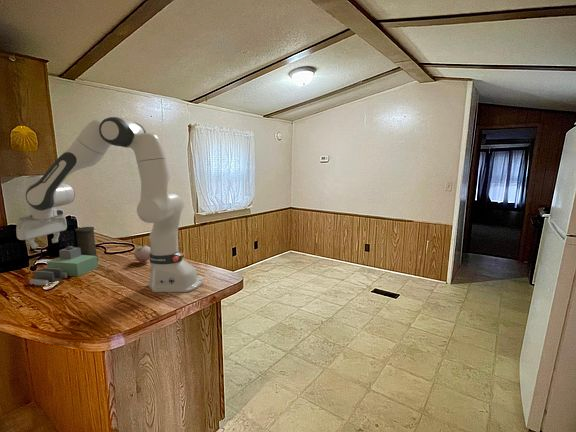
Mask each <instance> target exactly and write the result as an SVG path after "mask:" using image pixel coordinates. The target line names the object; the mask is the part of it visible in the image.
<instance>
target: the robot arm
mask: <svg viewBox="0 0 576 432" xmlns="http://www.w3.org/2000/svg"><path fill="white" fill-rule="evenodd" d="M111 146H115V147H122V148H127V149H131V150H132V151H133V153H134V156H135V160H136V165H137V169H138V170H137V171H138V174H139V179H140V199H139V202H138V204H137V207H136V213H137V216H138V218H139V219H140V220H141V221H142V222H144V223H147V224H153V226H152V229H151V231H150V233H149V247H150V251H151V253H150V258H149V263H150V275H149V276H150V277H149V281H148V287H149V289H150V290H151V292H153V293H189V292H193V291H194V290H196V289H197V288H199V287H200V286H201V285H203V282H204V280H203V277H199V276H198V272H197V270H196V268H195V267H194V266H193V265H191V264H190V263H188V262H187V261H186V260H184V258H183V256H184V255H185V252H182V253H181V251H180V250H179V238H178V235H179V234H178V233H179V232H178V231H179V226H180V219H181V215H182V211H183V209H184V206H185V204H184V200H183V198H182V197H181V196H180V195H178V194H176V193H174V192H168V187H169V186H168V184H169V181H170V172H169V167H168V163H167V159H166V154H165V150H164V149H163V146H162V143H161V140H160V138H159V136H157V134H154V133H153V132H152V133H151V132H147V130H146V128H145V127H144V126H143V125H141V124H140V123H138V122H134V121H133V120H130V119H126V118H123V117H122V118H120V117H117V116H111V117H106V118H104V119H103V120H102V119H92V120H91V121H90V122H89V123H88V124H86V126H85V127H84V128H83V129H82V130H81V131H80V132H79V134H78V135H77V137H76V138H75V140H74V141H73V143H71V145H70V146H69V147H68V149H66V150H65V151H64V152H63V153H62V154H61V155H60V156H59V157H58V158H57V159H56V160H55V161H54V162H53V163H52V165H51V166H50V167H49V168H48V169H47V171H45V172H44V173H43V174H38V175H37V174H36V175H30V176H27V177H25V178H24V181H23V194H24V199H25V201H26V213H27V215H26V216H19V218H18V219H17V220H16V221H15V222H16V229H15V231H16V238H17V239H18V240H20V241H27V242H28V243H29V244H30V247H31V249H33V250H34V249H38V248H39V244H38V243H36V242H35V241H36V239H35V238H39V237H43V236H47V235H48V236H49V235H51V234H52V235H53V238H51V244H55V243H59V237H60V235H61V234H60V233H61V232H64V231H67V228H68V225H67V224H68V223H67V218H66V216H65V214H66V213H65V212H66V211H65V210H64V209H58V208H57V207H62V206H67V205H70V204H71V203H73V202H74V200H75V198H76V191H75V189H74V188H73V187H72V186H71V185H70V184H68V183H65V182H64V181H65V180H66V179H67V178H68V177H69V176H70V175H72V174H73V173H75V172H77V171H79V170H81V169H86V168H89V167H93V166H95V165H96V164H98V163H99V162H100V161H101V160H102V158H103V157H104V156H105V154H106V153H107V152H108V150H109V148H110V147H111Z"/></svg>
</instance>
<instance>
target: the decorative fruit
mask: <svg viewBox="0 0 576 432" xmlns="http://www.w3.org/2000/svg"><path fill="white" fill-rule="evenodd" d="M150 253H151V251H150V246H148V245H147V244H143V243H142V244H141V245H140V246H138V247H137V248H136V249H135V250H134V253H133V257H134V258H135V259H136V261H138V262H139V263H140V262H141V263H145V262H147V261H148V260H150Z"/></svg>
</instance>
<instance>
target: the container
mask: <svg viewBox="0 0 576 432" xmlns="http://www.w3.org/2000/svg"><path fill="white" fill-rule="evenodd" d="M94 230H95V226H94V227H93V226H83V227H77V228H75V229H74V231H75V235H76V245H77V248H80V249H81V255H90V256H97V260H98V261H99V258H98V254H97V248H96V240H95V239H96V238H95V231H94Z"/></svg>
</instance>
